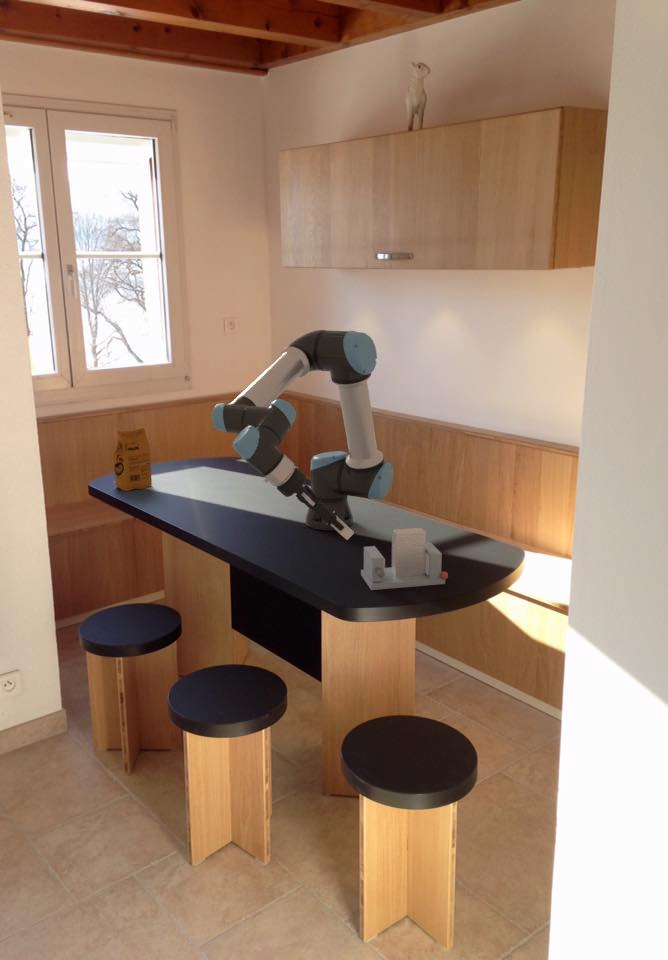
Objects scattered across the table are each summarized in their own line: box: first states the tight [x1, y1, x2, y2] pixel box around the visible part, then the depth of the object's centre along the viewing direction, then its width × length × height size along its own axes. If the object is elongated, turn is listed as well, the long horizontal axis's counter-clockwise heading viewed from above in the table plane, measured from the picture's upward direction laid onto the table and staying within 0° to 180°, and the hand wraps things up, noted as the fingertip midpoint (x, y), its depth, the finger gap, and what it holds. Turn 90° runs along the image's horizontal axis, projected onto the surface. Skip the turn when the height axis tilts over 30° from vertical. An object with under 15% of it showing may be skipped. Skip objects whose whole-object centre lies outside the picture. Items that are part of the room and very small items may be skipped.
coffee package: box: [113, 426, 153, 492], centre depth 316 cm, size 10×12×22 cm
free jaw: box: [363, 545, 386, 582], centre depth 223 cm, size 13×4×6 cm, turn 12°
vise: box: [360, 540, 449, 591], centre depth 226 cm, size 12×21×8 cm, turn 102°
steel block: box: [391, 527, 427, 578], centre depth 226 cm, size 4×8×12 cm, turn 102°
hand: (350, 535), depth 221 cm, fingers closed
